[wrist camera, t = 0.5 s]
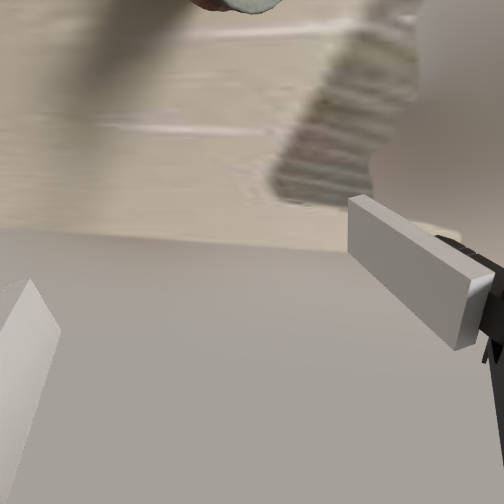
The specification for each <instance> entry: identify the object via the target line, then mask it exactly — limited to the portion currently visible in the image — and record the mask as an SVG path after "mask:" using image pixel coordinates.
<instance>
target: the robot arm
mask: <svg viewBox="0 0 504 504" xmlns="http://www.w3.org/2000/svg"><path fill="white" fill-rule="evenodd" d="M348 253H350V254H351V255H352V256H353V257H354V258H355V259H356V260H357V261H358V262H359V263H360V264H361V265H363V266H364V267H365V268H366V269H367V270H368V271H369V272H370V273H371V274H372V275H373V276H374V277H376V279H378V280H379V281H380V282H381V283H382V284H383V285H384V286H385V287H386V288H387V289H389V291H390V292H391V293H393V294H394V295H395V296H396V297H397V298H398V299H399V300H400V301H401V302H402V303H403V304H404V305H405V306H407V307H408V308H409V309H410V310H411V311H412V312H413V313H414V314H415V315H416V316H417V317H418V318H419V319H421V320H422V321H423V322H424V323H425V324H426V325H427V326H428V327H429V328H430V329H431V330H432V331H434V332H435V333H436V334H437V335H438V336H439V337H440V338H441V339H442V340H443V341H444V342H445V343H446V344H447V345H448V346H450V347H451V348H452V349H453V350H454V351H456V350H459V349H461V348H464V347H467V346H470V345H473V344H475V343H476V339H477V336H478V332H479V329H480V330H481V331H483V332H484V333H485V334H486V335H487V336H489V339H488V342H487V345H486V349H485V352H484V355H483V359H482V363H485V364H486V361H487V358H489V364H490V372H491V379H492V386H493V393H494V400H495V408H496V415H497V422H498V429H499V436H500V443H501V450H502V458H503V465H504V268H502V267H501V266H499V265H497V264H495V263H494V262H492V261H490V260H488V259H487V258H485V257H483V256H481V255H480V254H476V252H474V251H473V250H471V249H469V248H466V247H465V246H464V245H462V244H460V243H459V242H457V241H455V240H453V239H450V238H447V237H443V236H440V235H436V236H433V235H431V234H430V233H428V232H426V231H425V230H423V229H421V228H420V227H418V226H416V225H415V224H413V223H411V222H409V221H408V220H406V219H404V218H403V217H401V216H399V215H398V214H396V213H394V212H393V211H391V210H389V209H388V208H386V207H384V206H383V205H381V204H379V203H377V202H376V201H374V200H373V199H371V198H369V197H368V196H366V195H364V194H363V195H359V196H355V197H351V198H348ZM60 334H61V330H60V328H59V326H58V325H57V323H56V321H55V319H54V318H53V316H52V315H51V313H50V311H49V309H48V308H47V306H46V304H45V303H44V301H43V299H42V298H41V296H40V294H39V292H38V291H37V289H36V288H35V286H34V284H33V282H32V281H31V279H30V278H28V279H24V280H20V281H16V282H12V283H8V285H7V286H6V288H5V289H4V291H3V292H2V294H1V295H0V504H6V502H7V499H8V496H9V493H10V490H11V487H12V484H13V481H14V477H15V474H16V471H17V468H18V465H19V462H20V459H21V456H22V453H23V449H24V446H25V443H26V440H27V437H28V434H29V431H30V428H31V425H32V422H33V418H34V415H35V412H36V409H37V406H38V403H39V399H40V397H41V394H42V390H43V387H44V384H45V381H46V378H47V375H48V372H49V368H50V365H51V362H52V359H53V356H54V353H55V350H56V347H57V344H58V341H59V337H60Z"/></svg>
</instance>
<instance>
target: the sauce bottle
mask: <svg viewBox="0 0 504 504" xmlns="http://www.w3.org/2000/svg"><path fill="white" fill-rule="evenodd" d="M190 1H192V2H193V3H194V4H196V5H197V6H199V7H201V8H203V9H206V10H209V11H222V12H225V11H228V10H235V11H238V12H241V13H247V14H260V13H263V12H265V11H268V10H270V9H272V8H273V7H274V6H275V5H277V4H278V3H279V2H280V1H282V0H190Z"/></svg>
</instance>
